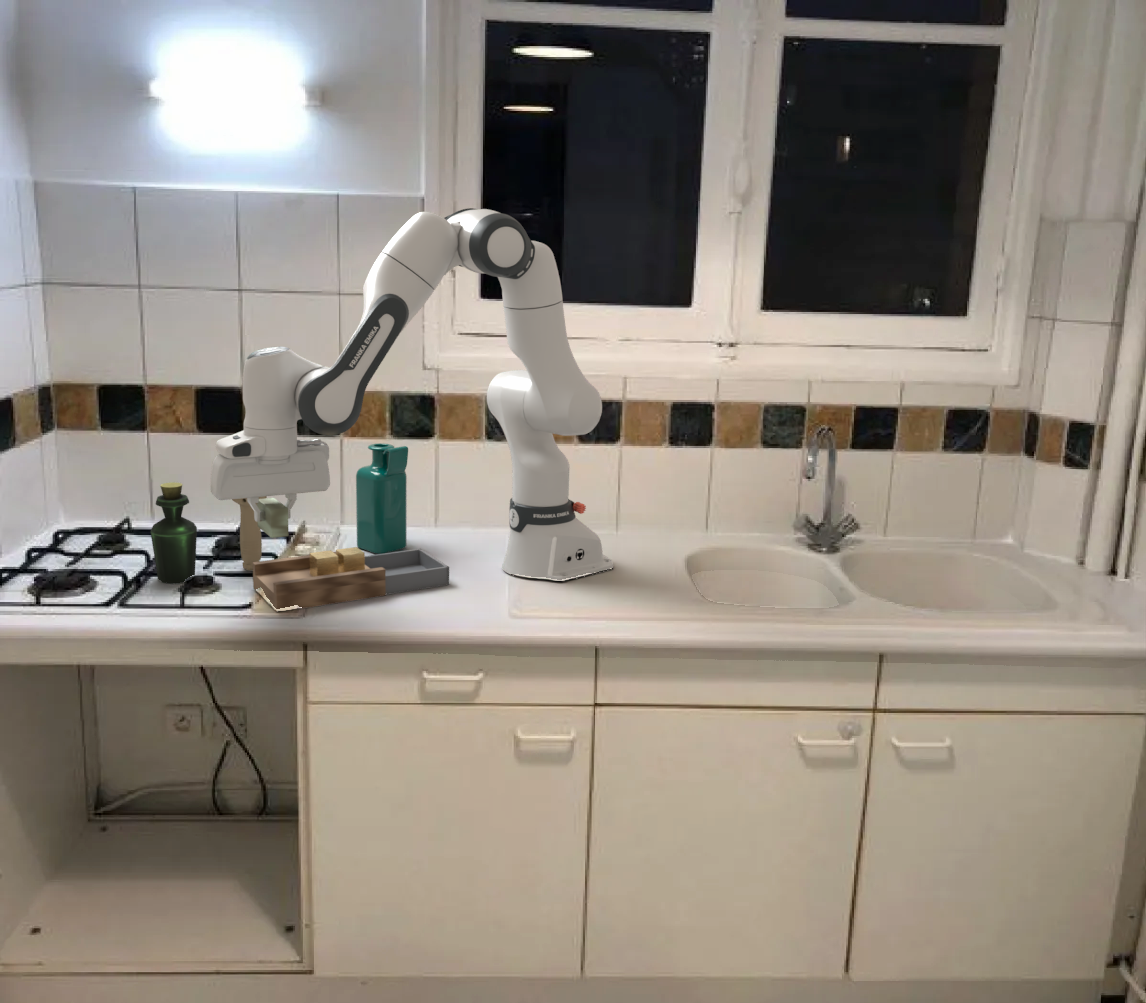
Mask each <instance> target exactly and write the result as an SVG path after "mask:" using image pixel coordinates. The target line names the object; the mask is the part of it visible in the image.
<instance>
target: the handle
mask: <svg viewBox="0 0 1146 1003" xmlns="http://www.w3.org/2000/svg"><path fill="white" fill-rule="evenodd" d="M265 498H268V496H263V497H259V499H265ZM231 501H233V502H234V503H236V504H238V505H239V508H240V524H239V525H240V526H239V546H240V555H241V556H240V557H241V561H242V562H241V564H242V568H243V570H247V571H253V562H259V561H261V559H262V550H263V546H262V545H263V544H262V542H263V540H262V532H261V531H262V530H261V529H260V528H259V527H258V522H256V521H255V519H254V510H253V509H252V507H251V506H250V504H249V503H248V501H247V498H241V499H231ZM255 504H256V505H257V503H255Z"/></svg>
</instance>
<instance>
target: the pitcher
mask: <svg viewBox="0 0 1146 1003" xmlns="http://www.w3.org/2000/svg"><path fill="white" fill-rule="evenodd" d="M367 449H368V450H370V451H371V453H372V454H371V457H372V459H371V460H372V461H371V464H369V465H365V466H362V467H360V468H358V470H357V471H356V474H355V499H356V500H355V505H356V507H355V508H356V512H355V513H356V515H355V516H356V547H357V548H359V549H360V550H364V551H366V552H369V553H373V554H376V553H377V554H384V553H392V552H397V551H399V550H403V549H406V547H407V544H408V543H407V542H408V540H407V534H408V533H407V529H408V528H407V520H408V516H407V514H408V513H407V511H408V510H407V508H408V507H407V506H408V505H407V500H408V499H407V496H408V495H407V492H408V490H407V485H408V484H407V481H408V480H407V479H408V478H407V476H408V475H407V473H406V469H407V465H408V458H409V447H408V446H407V445H406V446H405V445H403V446H397V447H395V445H393V444H390V443H384V442H383V443H371V444H370V445H368V446H367ZM377 554H376V555H377Z"/></svg>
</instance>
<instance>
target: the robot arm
mask: <svg viewBox="0 0 1146 1003" xmlns="http://www.w3.org/2000/svg"><path fill="white" fill-rule="evenodd" d="M554 255H555V254H554V253H553V251H552V249H551V248H550V247H549V246H548V245H547V244H545V243H543V242H539V241H536V240H531V238H530V237H529V236H528V234H527V231H526V230H525V229H524V227H523V226H522V224H521V223H520V221H518V220H517V219H515V218H514V217H512V216H511V215H509V214H507V213H501V212H499V211H496V210H492V209H489V208H488V209H487V208H482V209H481V208H479V209H478V208H469V207H468V208H464V209H460V210H458V211H455V212H453V213H452V214H449V215H447V216H445V217H444V216H441V215H440V214H437V213H435V212H431V211H420V212H418V213H415V214H414V215H413V216H412V217H411V218H410V219H408V220H407V221H406V222H405V224H403V226H402V227H400V229H399V230H398V231H397V232H396V233H395V234H394V235H393V237H392V238H391V239H390V240H389V241H388V243H387V244H386V245H385V247H384V248H383V250H382V251H381V253H380V254H379V255H378V256H377V258H376V260H375V261H374V263H373V264H372V266H371V268H370V270H369V272H368V274H367V276H366V278H365V281H364V284H363V286H362V287H363V288H362V297H363V310H362V316H361V318H360V322H359V323H358V326H357V327H356V329H355V331H354V332H353V334H352V335H351V337H350V338H349V340H348V342H347V343H346V345H345V346H344V348H343V350H342V351H341V352H340V353H339V356H338V357H337V358H336V360H335V362H334V363H333V364H332V365H331V367H329V366H325V365H322V364H320V363H317V362H314V361H312V360H309V359H307V358H305V357H303V356H301V355H299V354H297V353H296V352H295V351H293V349H291V348H290V347H287V346H271V347H265V348H260V349H258V350H255V351H253V352H251V353H250V354H249V355H248V356H247V357H246V360H244V366H243V372H242V373H243V374H242V402H243V406H244V408H245V410H244V411H245V416H244V420H243V430H241V431H238V432H236V433H234V434H231V435H227V436H225V437H222V438H220V439H218V440H217V441H216V443H215V449H216V451H217V453H218V454H217V455H216V456H215V457H214V459H213V461H212V464H211V471H210V492H211V495H213V497H214V498H216V499H218V500H219V501H227V500H232V499H241V498H247V501H248V503H249V504H250V506H251V507H252V509H253V510H254V519H255V521H256V522H260V521H265V511H263V510H262V509H261V510H259V508H258V507H257V505H256V504H255V503H258V502H259V497H263V496H267V497H271V496H273V497H275V496H283V495H284V497H285V498H286V501H285V503H284V504H283V505H284V506H286V507H287V508H288V520H290V519H291V510H292V509H293V507H294V505H295V503H296V502H297V500H298V499H297V497H298V496H297V494H307V493H316V492H317V493H318V492H326V491H328V489H329V487H330V486H331V477H330V468H329V462H328V461H329V459H330V447H329V445H328V443H326V441H323V440H321V438H314V439H298V424H297V423H298V421H299V420H302V422H303V424H305V426H306V428H308V429H309V430H311V431H313V432H314V433H317V434H319V435H323V436H336V435H337V436H338V435H341V434H343V433H345V432H346V431H348V430H349V429H351V428H352V427H353V426H354V425H355V424H356V422H357V421H358V419H359V417H360V414H361V412H362V407H363V401H364V396H365V393H366V389H367V387H368V385H369V383H370V382H371V380H372V378H373V376H374V375H375V373H376V372H377V370H378V369H379V368H380V366H381V364H382V362H383V361H384V359H385V357H386V356H387V354H388V353H389V352H390V350H391V348H392V346H393V345H394V343H395V342H396V340H397V339H398V337H399V336H400V334H401V333H402V332H403V331H404V330H405V328H406V327H407V326H408V324H410V322H411V321H412V320H413V319H414V318H415V316H416V315H417V314H418V313H419V312H420V310H421V309H422V308H423V307H424V305H425V304H426V303H427V302H428V300H429V299H430V298H431V296H432V294H434V292H435V291H436V289H437V287H438V286H439V284H440V283H441V281H442V280H443V278H444V276H446V275H447V273H450V272H449V271H451V270H452V269H454V268H456V267H462V268H465V269H466V270H468V271H470V272H473V273H477V274H486V275H488V276H491V277H496V278H497V279H498V281H499V284H500V287H501V295H502V306H503V313H504V314H503V315H504V323H505V331H506V332H505V333H506V340H507V345H508V347H509V349H510V351H511V352H512V353H513V354H514V356H516V357H517V358H518V359H519V360H520V361H521V363H522V364H523V366H524V368H525V369H514V370H507V371H501V372H499V373H497V374H495V376H494V377H493V378H492V380H491V381H490V382H489V385H488V388H487V391H486V403H487V408H488V410H489V412H490V413H491V414H492V415H493V417H494V418H495V419H496V420H497V422H498V423H499V425H500V427H501V430H502V432H503V434H504V437H505V439H506V442H507V445H508V449H509V454H510V457H511V458H510V460H511V466H512V467H511V469H512V470H511V471H512V472H511V473H512V474H511V475H512V476H511V479H512V481H511V482H512V485H511V486H512V487H511V490H512V491H511V494H512V495H511V496H512V497H511V498H510V500H509V508H508V509H509V515H508V518H509V528H510V529H509V534H508V535H509V536H508V543H507V548H506V553H505V557H504V559H503V563H502V566H501V568H502V570H503V571H504V572H505V573H507V574H509V575H511V574H519V575H525V576H531V577H546V578H551V579H557V580H562V579H566V578H571V577H576V576H578V575H583V574H586V573H594V572H599V571H602V570H606V569H610V568H613V569H614V562H613V561H612V559H611V558H609V557H608V556H606V555H604V554H603V547H602V546H603V545H602V542H601V538H600V537H599V536H598V534H597V533H596V532H595V531H593V530H592V529H591V528H590V527H588V526H587V525H586V524H584V523H583V522H582V521H581V520H580V519H578V518H577V516H576V513H578V514H580V515H581V514H582V515H583V514H585V511H586V509H587V507H586V505H585V504H584V503H581V502H580V501H576V502H575V501H573V500H571V499H570V498H569V495H570V494H569V490H570V488H569V487H570V469H571V468H570V462H569V460H568V458H567V456H566V455H565V453H563V451H561V449H560V448H559V447H558V445H557V443H556V441H555V438H554V435H559V436H563V437H565V436H583V435H586V434H588V433H591V432H592V431H593V430H594V429H595V428H596V427H597V425H598V423H599V422H600V419H601V416H602V413H603V401H602V398H601V394H600V392H599V391H598V389H597V388H596V387H595V386H594V385H592V383H591V382H590V381H589V380H588V379H587V378H586V377H585V375H584V374H583V372H582V371H581V369H580V367H579V365H578V363H577V361H576V359H575V357H574V354H573V351H572V350H571V347H570V343H569V339H568V334H567V327H566V319H565V311H564V301H563V292H562V285H561V278H560V275H559V270H558V265H557V262H556V259H555V258H556V257H555V256H554ZM553 434H554V435H553ZM575 512H576V513H575ZM599 573H600V572H599Z"/></svg>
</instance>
